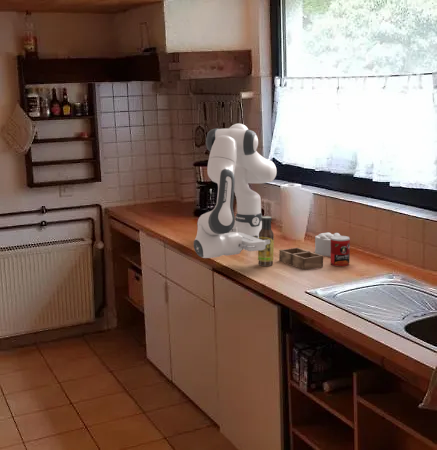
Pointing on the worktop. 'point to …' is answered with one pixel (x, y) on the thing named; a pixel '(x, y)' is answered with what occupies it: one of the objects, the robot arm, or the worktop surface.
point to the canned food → (340, 250)
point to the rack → (301, 258)
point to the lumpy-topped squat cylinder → (324, 243)
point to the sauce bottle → (267, 254)
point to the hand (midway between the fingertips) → (263, 239)
